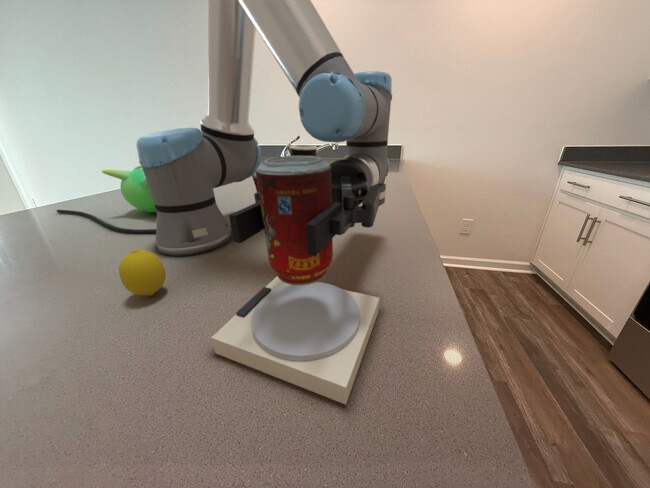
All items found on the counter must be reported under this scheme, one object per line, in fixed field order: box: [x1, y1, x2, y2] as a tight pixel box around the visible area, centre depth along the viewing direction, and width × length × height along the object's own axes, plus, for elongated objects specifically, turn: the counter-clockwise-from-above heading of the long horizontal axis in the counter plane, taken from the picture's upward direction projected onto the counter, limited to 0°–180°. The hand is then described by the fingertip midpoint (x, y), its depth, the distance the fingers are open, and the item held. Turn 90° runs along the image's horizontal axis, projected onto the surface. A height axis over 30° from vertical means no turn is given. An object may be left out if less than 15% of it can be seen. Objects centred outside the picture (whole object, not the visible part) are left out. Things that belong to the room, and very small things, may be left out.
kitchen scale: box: [210, 275, 380, 406], centre depth 32 cm, size 16×14×3 cm
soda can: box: [256, 155, 334, 285], centre depth 27 cm, size 7×7×12 cm
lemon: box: [118, 248, 167, 297], centre depth 39 cm, size 6×6×8 cm
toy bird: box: [101, 165, 157, 213], centre depth 77 cm, size 18×17×15 cm
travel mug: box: [289, 144, 318, 157], centre depth 73 cm, size 8×8×18 cm
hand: (270, 234), depth 22 cm, fingers closed on soda can, 7 cm apart
